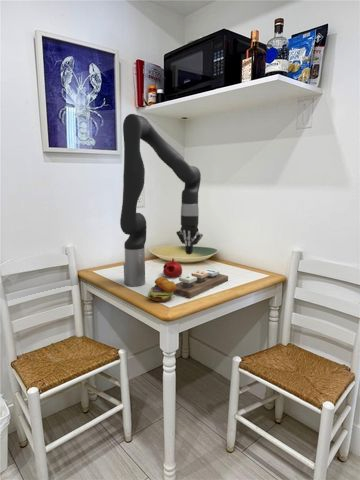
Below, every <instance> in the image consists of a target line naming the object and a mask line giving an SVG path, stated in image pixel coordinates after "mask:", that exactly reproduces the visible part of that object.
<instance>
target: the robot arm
mask: <svg viewBox="0 0 360 480" xmlns="http://www.w3.org/2000/svg"><path fill="white" fill-rule="evenodd" d="M122 135H123V148H124V150H123V154H124V155H123V176H122V177H123V179H122V180H123V185H122V186H123V187H122V202H121V204H122V205H121V213H120V219H119V224H120V226H119V227H120V229H121V231H122V232H123V234H125V235H128V238H127V239H126V240H125V241H124V263H123V283H125V285H127V286H129V287H141V286H143V285H145V284H146V256H145V255H146V253H145V248H146V247H145V246H146V245H145V244H146V241H147V220H146V218H145V216H144V215H143V214H142V213H140V212H137V206H138V201H139V199H140V196H141V194H142V192H143V190H144V187H145V186H144V185H145V180H146V179H145V173H146V171H145V163H144V161H143V157H142V153H141V140H142V141H143V142H144V143H146V144H148V145H149V146H150V147H151V148H152V149H153V151H154V153H155V154H156V155H157V157H158V158H159V159H160V160H161V161H162V162H163V163H164V164H166V166H167V167H168V168H169V169H171V171H172V172H173V173H174V174H175V175H176V177H177V178H178V179H179V180H180V181H181V182H183V183H184V188H183V189H182V191H181V205H180V225H181V226H180V230H178V231H176V235H177V237H178V238H179V240H180V242H181V243H182V245H183V244H184V245H185V253H186V255H189V256H190V255H191V254H193V251H194V246H195V245H197V244H198V243H199V242H200V240H201V239H202V238H203V237H204V235H203V233H200V232H199V228H198V226H199V216H200V215H199V214H200V213H199V192H200V191H199V190H200V185H201V180H202V179H201V178H202V177H201V171H200V168H198V167H197V166H195V165H191V164H189V163H188V162H186V160H185V159H184V158H185V157H184V156H182V154H181V153H180V152H179V151H177V149H175V147H173V146H172V145H171V144H170V143H168V142H167V141H166V140H165V139H164V138H163V137H162V136H161V135H160V134H159V132H158V131H157V130H156V129H155V128H154V126H153V125H152V124H151V123H150V122H149V120H148V119H147V118H146V117H144V116H142V115H139V114H136V113H129V114H127V115H126V117H125V118H124V119H123V123H122Z"/></svg>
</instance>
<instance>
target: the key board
mask: <svg viewBox="0 0 360 480" xmlns="http://www.w3.org/2000/svg"><path fill="white" fill-rule="evenodd" d="M227 282H229V275H225V274H222V273H219V274H217V275H215V277H214V278H209V277H207V276H206V277H205V281H204V282H201V283H200V282H196V281H194V282H193V286H192V287H189V288H187V287H184V286H183V282H182V281H179V282H177V283H175V285H176V291H174V293H173V295H178V296H180V297H183V298H184V297H185V298H188V299H193V298H195V297H196V296H199V295H201V294H204V293H205V292H208V291H210V290H211V289H215V287H218V286H220V285H222V284H224V283H227Z"/></svg>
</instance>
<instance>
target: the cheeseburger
mask: <svg viewBox="0 0 360 480" xmlns="http://www.w3.org/2000/svg"><path fill="white" fill-rule="evenodd" d="M154 284H155V285H154V286H152V287H151V288H150V290H149V292H148V294H147V297H148V300H153V301H154V302H155V301H156V302H161V303H163V302H168V301H170V300H171V299H172V298H173V296H174V291H176V285H175V284H176V283H175V282H174V281H173V280H172V281H170V280H168V279H167V278H166V277H164V276H159V277H157V278H156V279H155V280H154Z"/></svg>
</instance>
